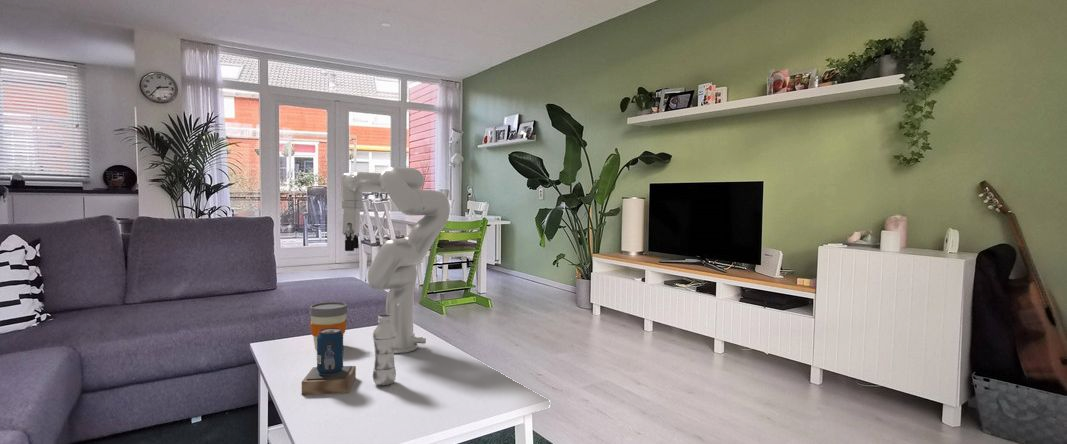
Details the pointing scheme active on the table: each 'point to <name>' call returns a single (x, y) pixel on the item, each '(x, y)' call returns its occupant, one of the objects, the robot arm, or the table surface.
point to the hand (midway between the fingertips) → (351, 249)
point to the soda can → (329, 351)
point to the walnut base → (329, 381)
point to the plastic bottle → (384, 351)
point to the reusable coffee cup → (327, 317)
